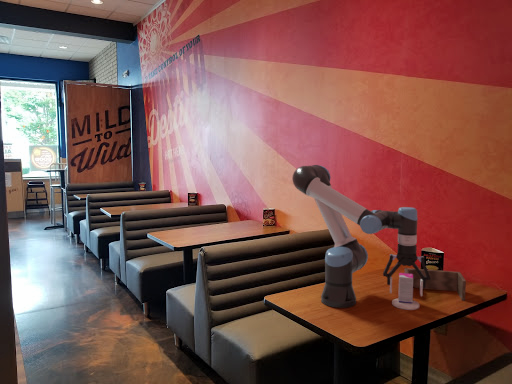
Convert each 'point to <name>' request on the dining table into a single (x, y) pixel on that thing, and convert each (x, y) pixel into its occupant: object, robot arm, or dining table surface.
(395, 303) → the pebble
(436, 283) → the cubby
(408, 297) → the supplement box
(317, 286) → the dining table surface
